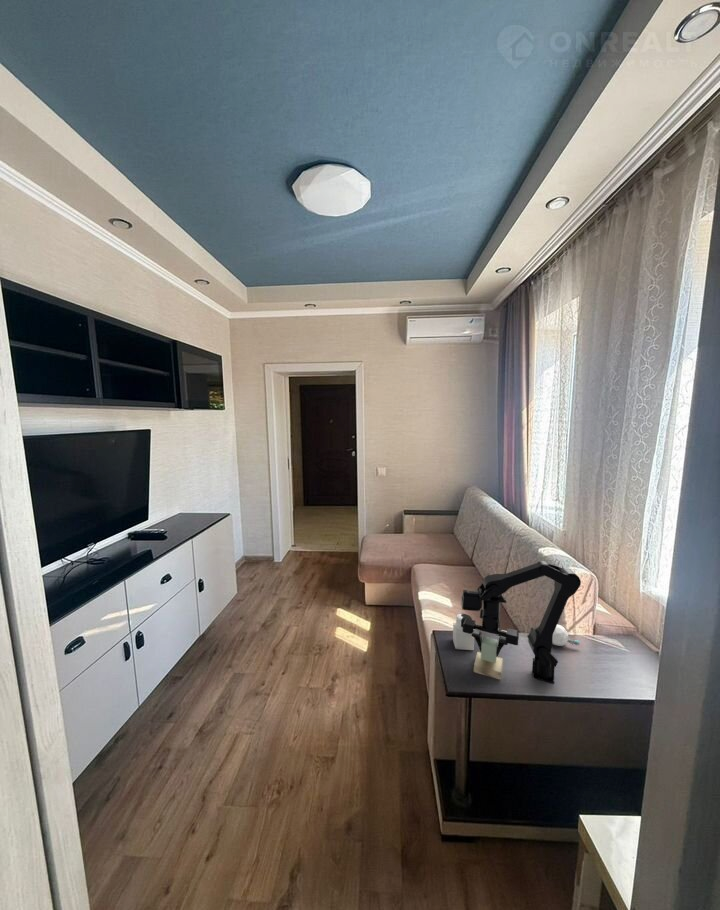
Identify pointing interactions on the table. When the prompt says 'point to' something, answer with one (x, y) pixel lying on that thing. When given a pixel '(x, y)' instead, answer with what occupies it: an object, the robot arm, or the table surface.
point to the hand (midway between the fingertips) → (489, 654)
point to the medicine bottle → (462, 634)
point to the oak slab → (488, 667)
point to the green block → (489, 649)
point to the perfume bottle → (562, 637)
